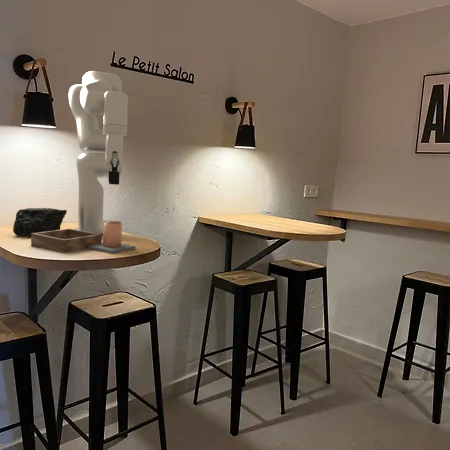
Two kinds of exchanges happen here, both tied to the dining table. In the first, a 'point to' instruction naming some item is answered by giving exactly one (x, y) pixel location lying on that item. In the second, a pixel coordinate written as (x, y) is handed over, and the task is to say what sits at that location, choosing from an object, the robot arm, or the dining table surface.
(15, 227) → the rock
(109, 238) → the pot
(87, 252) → the dining table surface
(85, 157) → the robot arm
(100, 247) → the mat
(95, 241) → the brown wooden tray
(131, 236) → the dining table surface
